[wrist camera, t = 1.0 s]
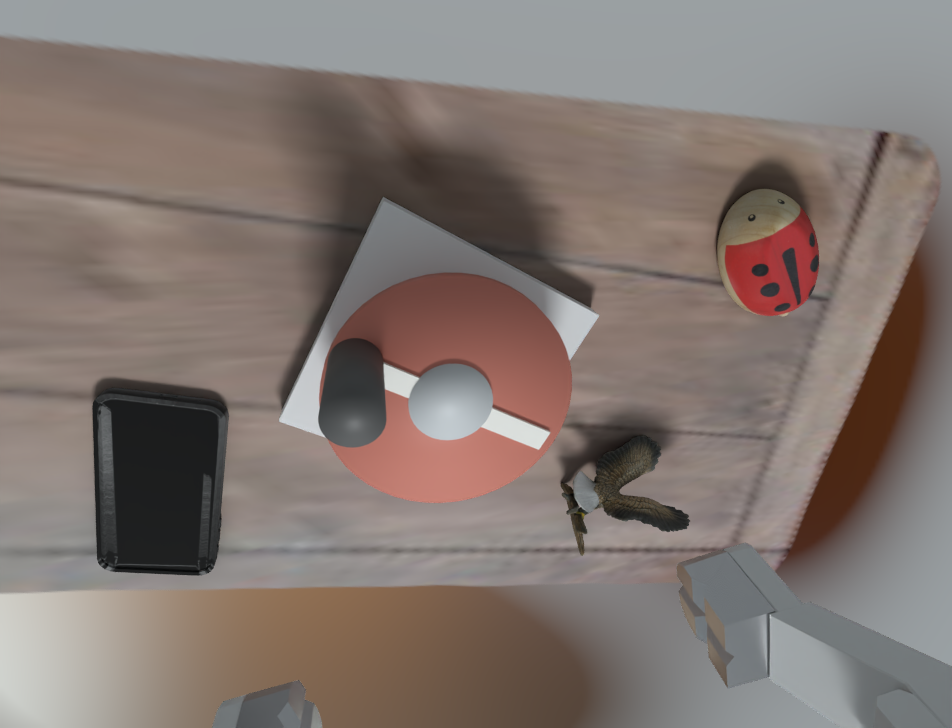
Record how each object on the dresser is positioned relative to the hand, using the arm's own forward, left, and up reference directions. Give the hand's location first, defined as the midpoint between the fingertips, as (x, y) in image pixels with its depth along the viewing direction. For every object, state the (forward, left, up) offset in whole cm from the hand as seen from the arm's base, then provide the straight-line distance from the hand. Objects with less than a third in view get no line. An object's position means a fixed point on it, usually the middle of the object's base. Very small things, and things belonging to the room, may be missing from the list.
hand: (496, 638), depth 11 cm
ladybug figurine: (+21, +13, -26) cm, 36 cm away
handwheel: (+4, -4, -21) cm, 22 cm away
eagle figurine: (+22, -7, -26) cm, 35 cm away
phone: (-9, -21, -27) cm, 35 cm away
